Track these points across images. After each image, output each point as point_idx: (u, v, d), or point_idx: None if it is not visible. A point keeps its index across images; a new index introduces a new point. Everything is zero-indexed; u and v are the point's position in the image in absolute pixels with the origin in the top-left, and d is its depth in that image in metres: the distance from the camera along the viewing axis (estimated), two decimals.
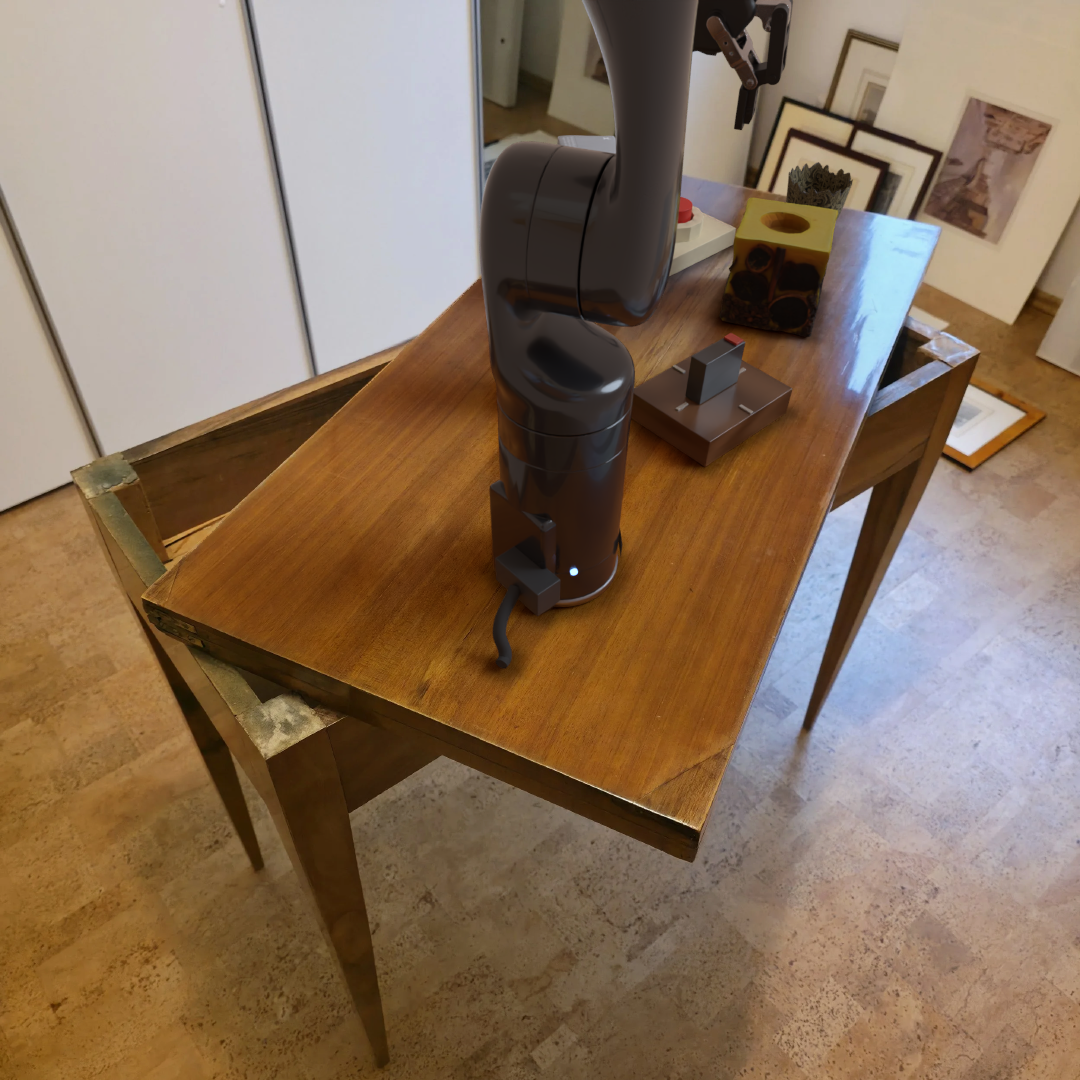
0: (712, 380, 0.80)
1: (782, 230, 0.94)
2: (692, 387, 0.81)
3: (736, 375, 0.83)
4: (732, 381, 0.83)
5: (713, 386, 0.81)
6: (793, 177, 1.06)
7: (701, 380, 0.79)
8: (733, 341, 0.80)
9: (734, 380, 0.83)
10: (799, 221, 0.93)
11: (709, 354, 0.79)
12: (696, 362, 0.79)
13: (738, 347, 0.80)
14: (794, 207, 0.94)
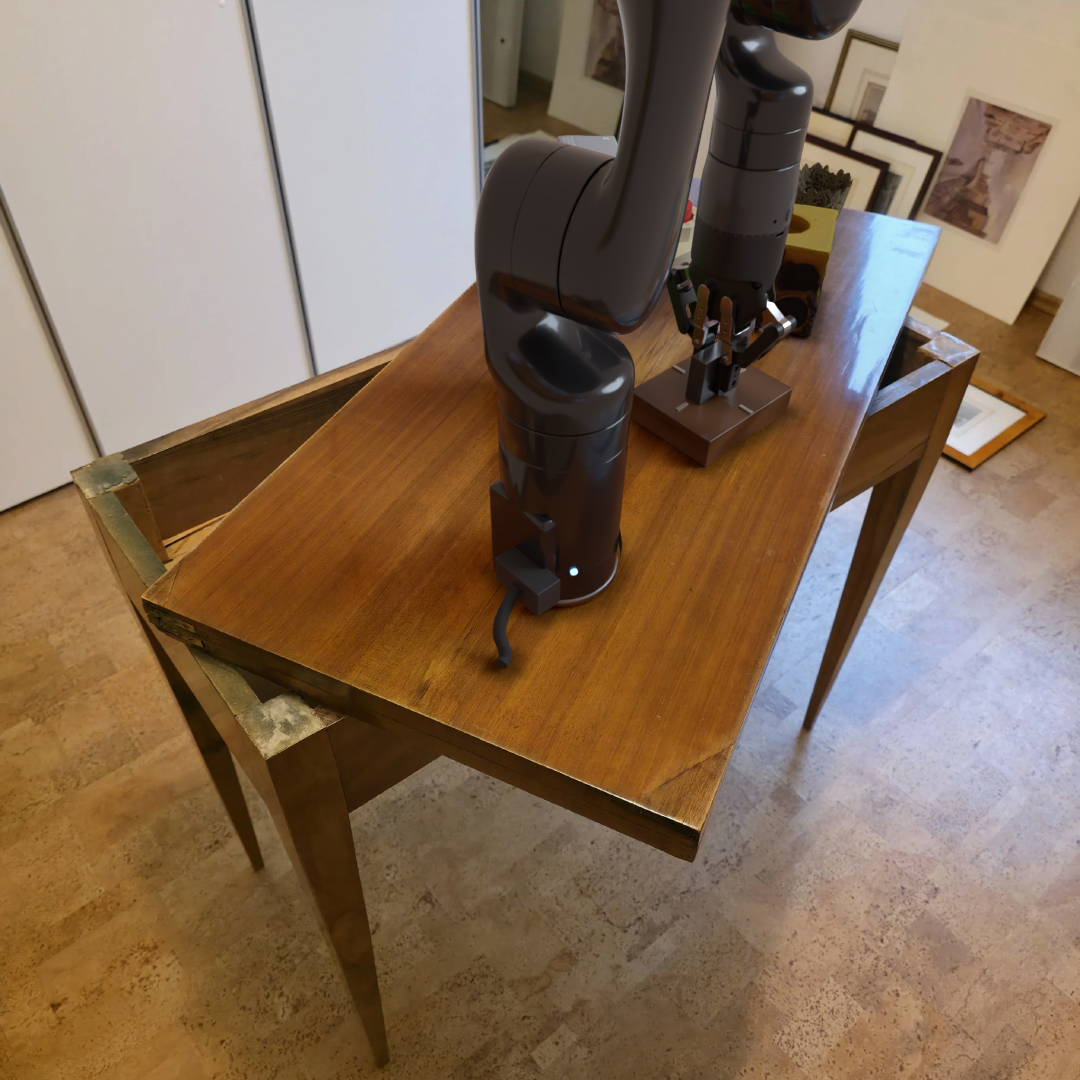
0: (712, 380, 0.80)
1: None
2: (692, 387, 0.81)
3: None
4: None
5: None
6: None
7: (701, 380, 0.79)
8: None
9: None
10: (799, 221, 0.93)
11: (709, 354, 0.79)
12: (696, 362, 0.79)
13: None
14: (794, 207, 0.94)
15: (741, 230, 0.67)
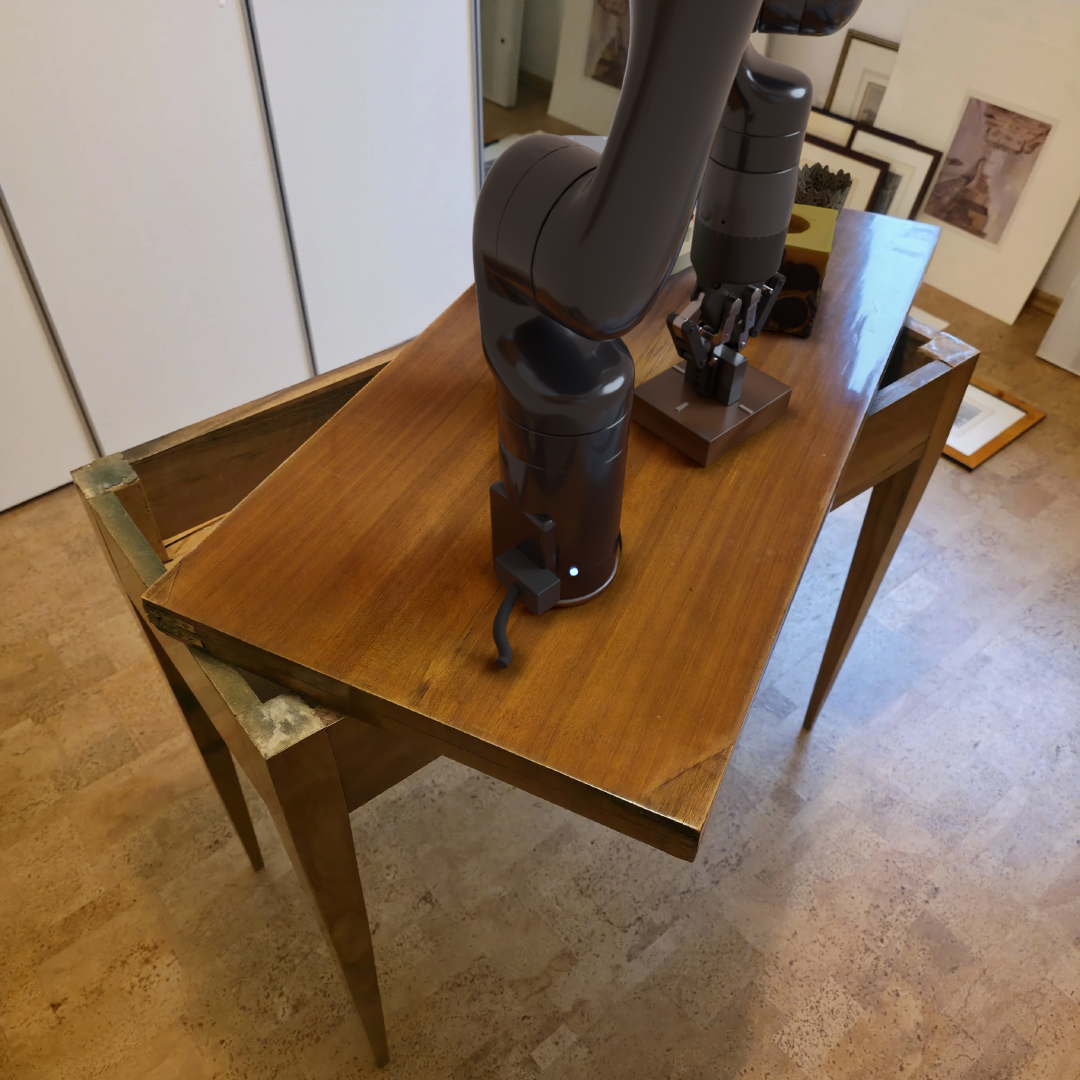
0: None
1: None
2: (734, 391, 0.80)
3: None
4: None
5: None
6: None
7: (743, 376, 0.80)
8: None
9: None
10: (799, 221, 0.93)
11: (730, 355, 0.79)
12: (739, 366, 0.78)
13: None
14: (794, 207, 0.94)
15: None
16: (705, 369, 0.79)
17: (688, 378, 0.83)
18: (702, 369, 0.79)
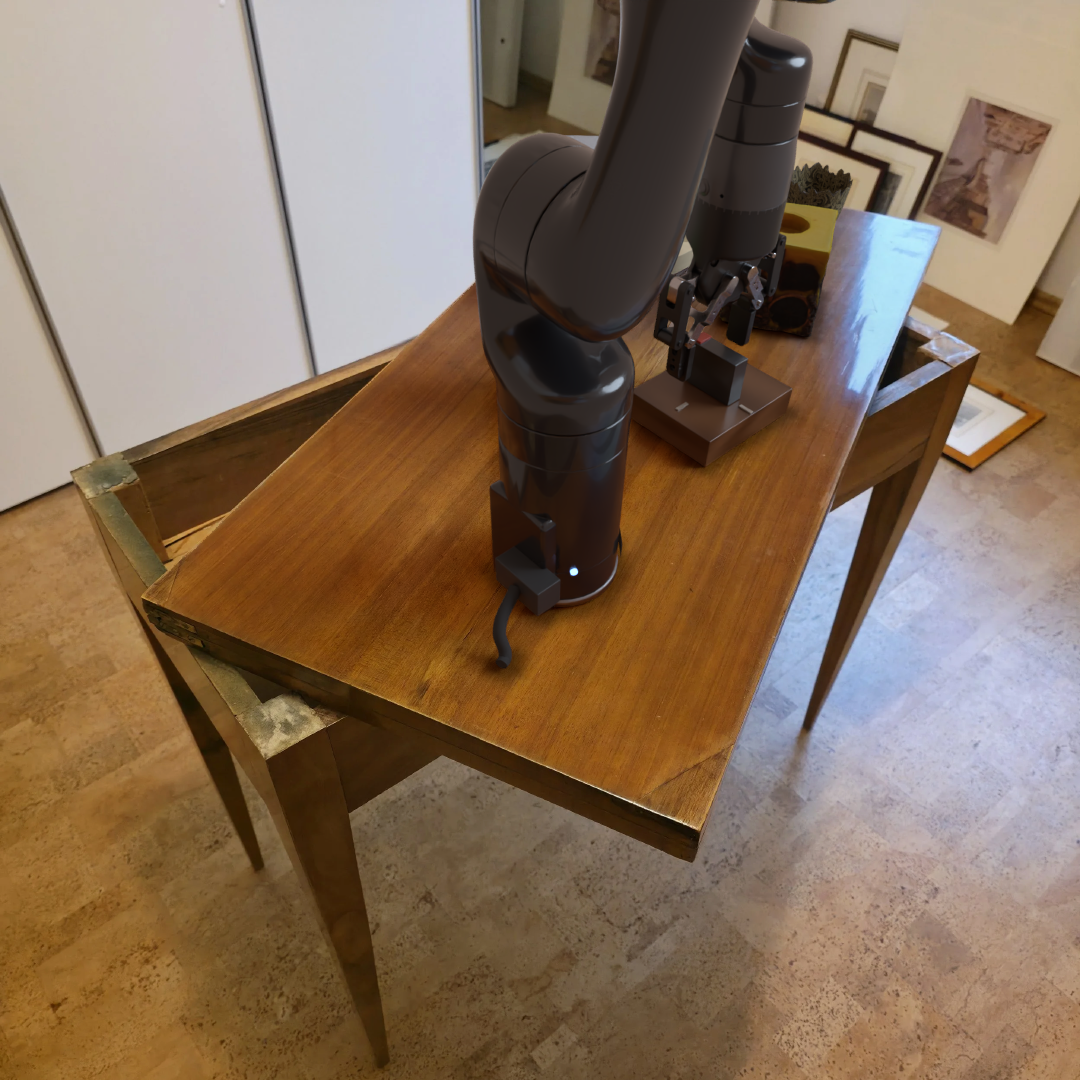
0: None
1: (782, 230, 0.94)
2: (734, 391, 0.80)
3: None
4: None
5: None
6: (793, 177, 1.06)
7: (743, 376, 0.80)
8: (707, 337, 0.80)
9: None
10: (799, 221, 0.93)
11: (730, 355, 0.79)
12: (739, 366, 0.78)
13: (710, 338, 0.81)
14: (794, 207, 0.94)
15: None
16: (681, 351, 0.75)
17: None
18: (678, 351, 0.75)
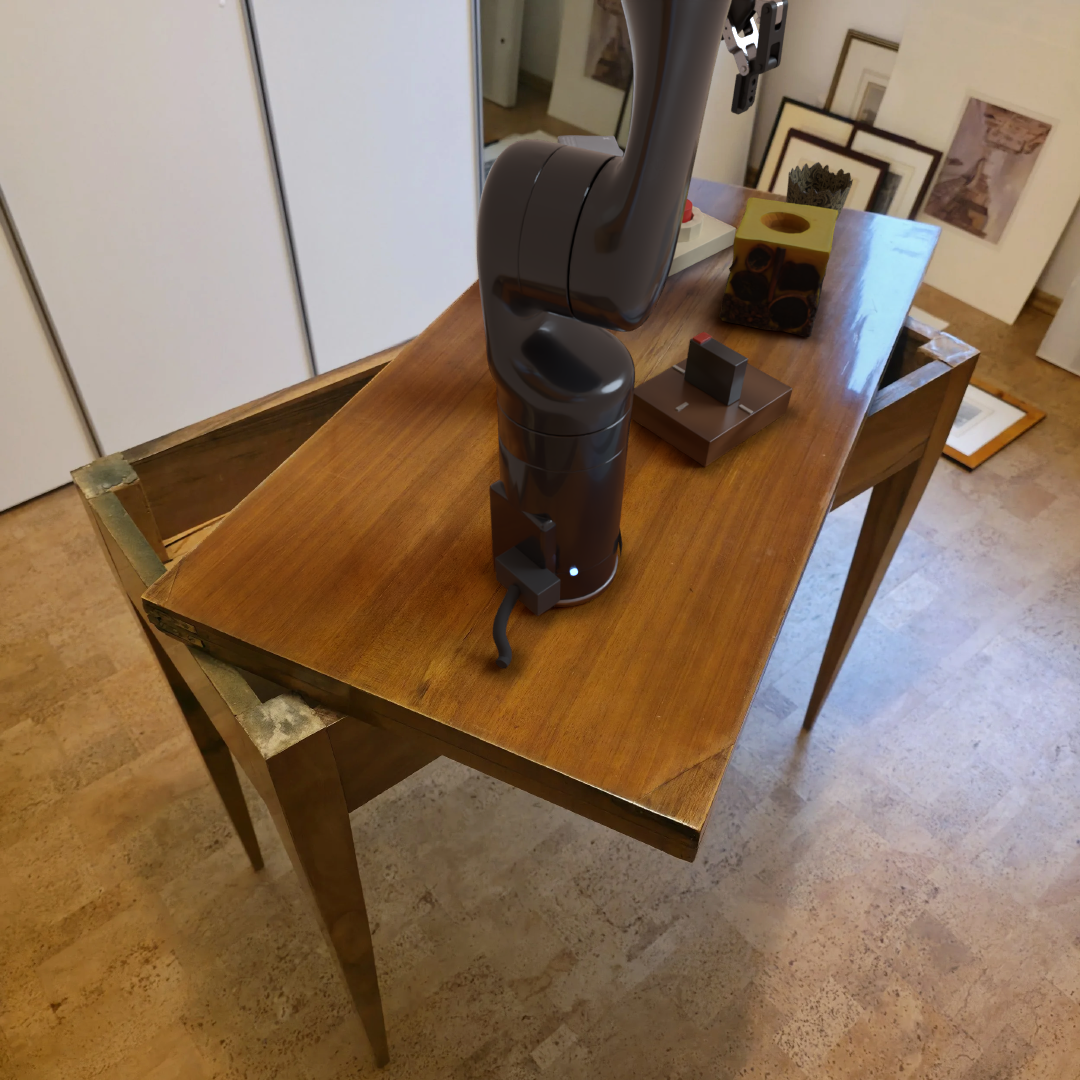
0: None
1: (782, 230, 0.94)
2: (734, 391, 0.80)
3: None
4: None
5: None
6: (793, 177, 1.06)
7: (743, 376, 0.80)
8: (707, 337, 0.80)
9: None
10: (799, 221, 0.93)
11: (730, 355, 0.79)
12: (739, 366, 0.78)
13: (710, 338, 0.81)
14: (794, 207, 0.94)
15: None
16: None
17: (688, 378, 0.83)
18: None
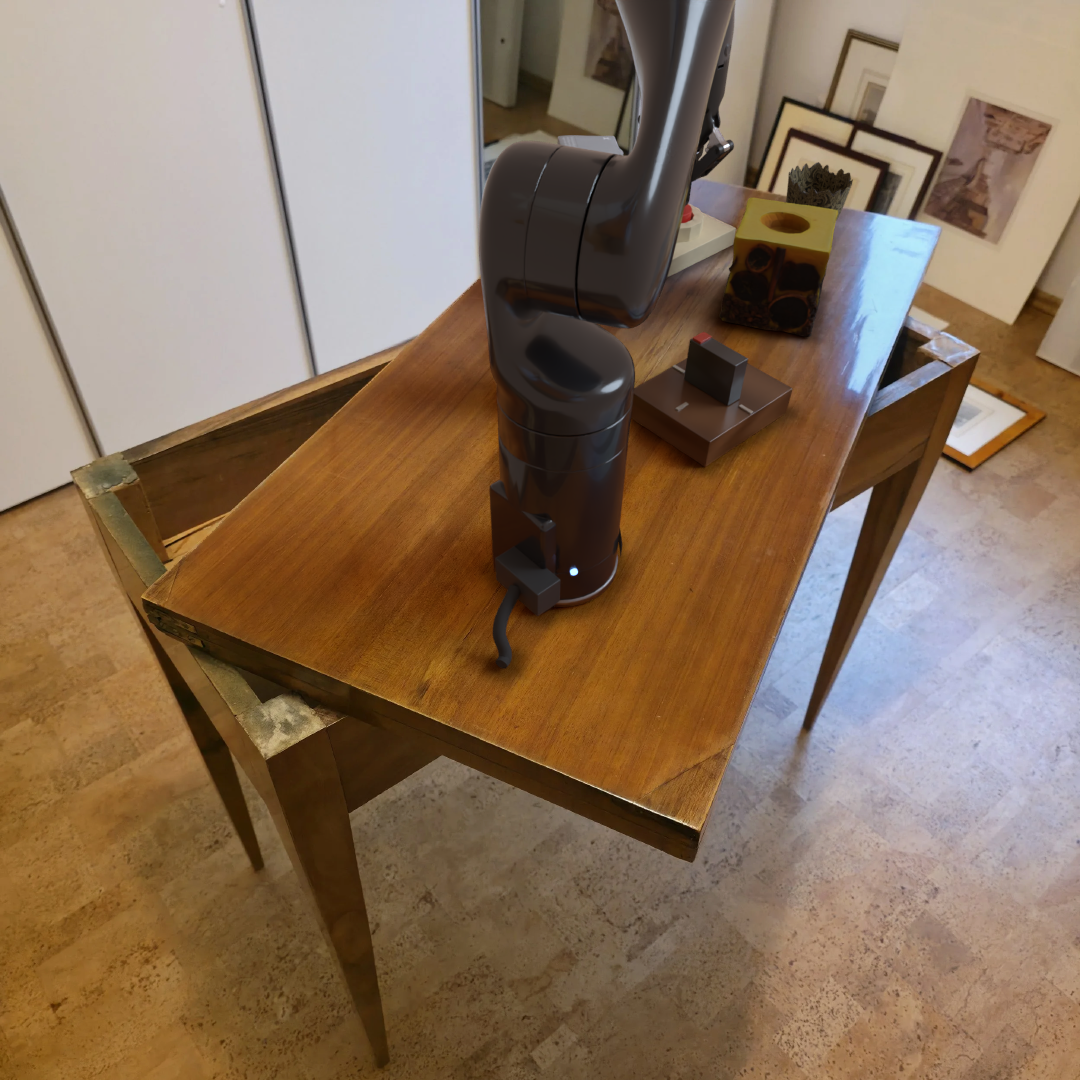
0: None
1: (782, 230, 0.94)
2: (734, 391, 0.80)
3: None
4: None
5: None
6: (793, 177, 1.06)
7: (743, 376, 0.80)
8: (707, 337, 0.80)
9: None
10: (799, 221, 0.93)
11: (730, 355, 0.79)
12: (739, 366, 0.78)
13: (710, 338, 0.81)
14: (794, 207, 0.94)
15: None
16: None
17: (688, 378, 0.83)
18: None
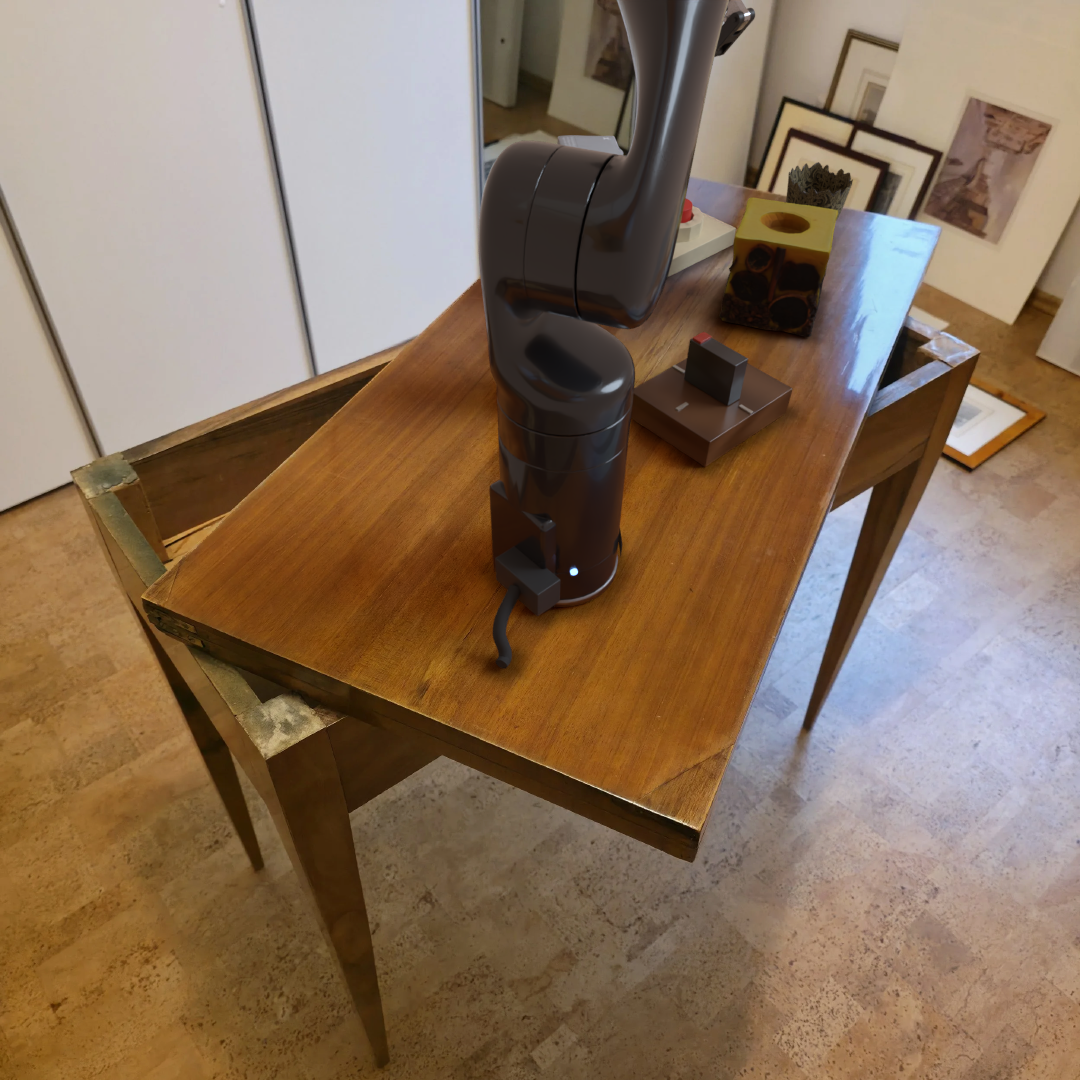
0: None
1: (782, 230, 0.94)
2: (734, 391, 0.80)
3: None
4: None
5: None
6: (793, 177, 1.06)
7: (743, 376, 0.80)
8: (707, 337, 0.80)
9: None
10: (799, 221, 0.93)
11: (730, 355, 0.79)
12: (739, 366, 0.78)
13: (710, 338, 0.81)
14: (794, 207, 0.94)
15: None
16: None
17: (688, 378, 0.83)
18: None
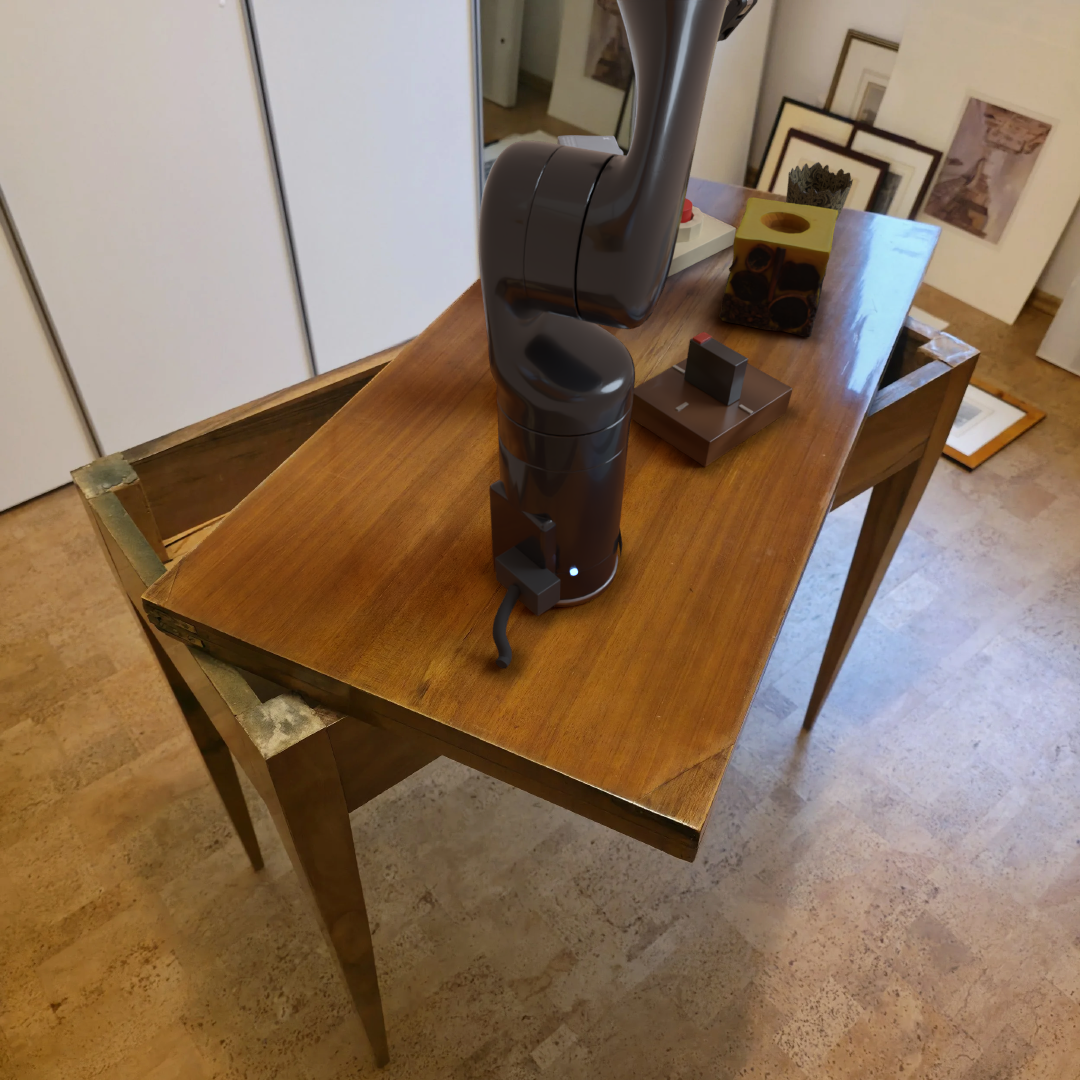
0: None
1: (782, 230, 0.94)
2: (734, 391, 0.80)
3: None
4: None
5: None
6: (793, 177, 1.06)
7: (743, 376, 0.80)
8: (707, 337, 0.80)
9: None
10: (799, 221, 0.93)
11: (730, 355, 0.79)
12: (739, 366, 0.78)
13: (710, 338, 0.81)
14: (794, 207, 0.94)
15: None
16: None
17: (688, 378, 0.83)
18: None
